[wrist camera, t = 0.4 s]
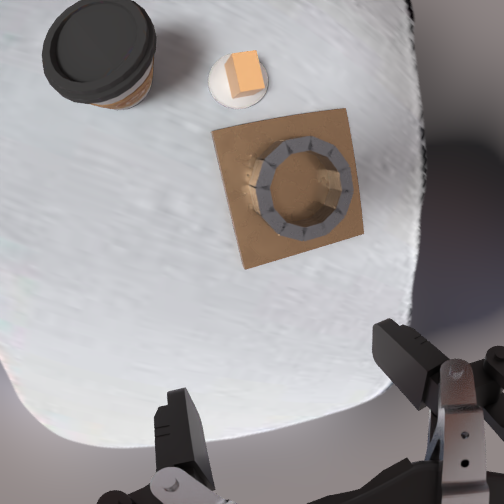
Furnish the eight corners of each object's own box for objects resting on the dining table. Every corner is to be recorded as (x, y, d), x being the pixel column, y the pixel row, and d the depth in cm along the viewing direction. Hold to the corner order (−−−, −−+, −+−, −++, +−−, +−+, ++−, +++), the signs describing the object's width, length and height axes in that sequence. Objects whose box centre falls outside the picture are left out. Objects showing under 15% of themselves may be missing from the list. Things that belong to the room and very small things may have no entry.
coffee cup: (115, 135, 31) (75, 126, 17) (73, 82, 28) (16, 46, 14) (176, 86, 31) (180, 42, 17) (133, 34, 27) (113, -31, 14)
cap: (202, 61, 30) (208, 46, 25) (258, 52, 31) (273, 37, 26) (214, 114, 33) (222, 108, 28) (270, 103, 34) (287, 96, 29)
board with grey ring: (211, 131, 33) (215, 129, 29) (341, 108, 36) (359, 106, 32) (243, 266, 39) (250, 279, 35) (359, 231, 41) (376, 240, 37)
